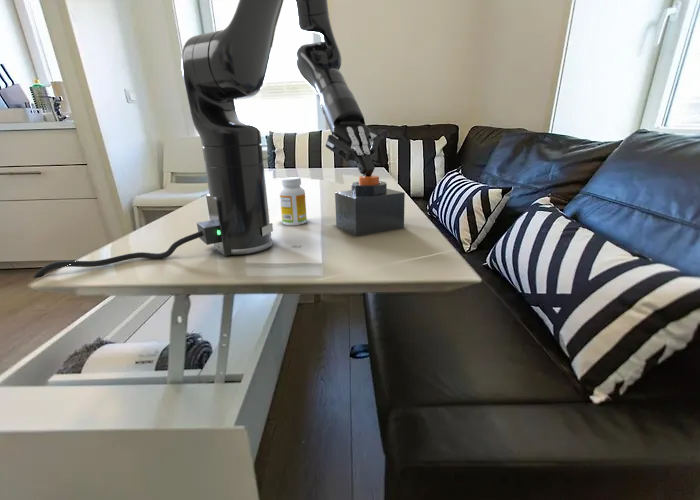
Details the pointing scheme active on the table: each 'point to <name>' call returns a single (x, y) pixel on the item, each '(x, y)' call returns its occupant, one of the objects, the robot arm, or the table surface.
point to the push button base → (369, 209)
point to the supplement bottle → (293, 202)
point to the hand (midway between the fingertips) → (369, 173)
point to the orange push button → (368, 180)
